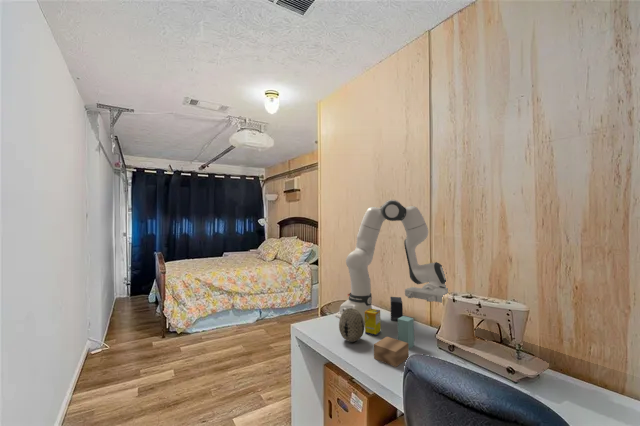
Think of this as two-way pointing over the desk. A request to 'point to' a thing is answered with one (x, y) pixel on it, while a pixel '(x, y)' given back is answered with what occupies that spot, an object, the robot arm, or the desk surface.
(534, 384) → the desk surface
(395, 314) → the small box
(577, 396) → the desk surface
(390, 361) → the walnut block
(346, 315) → the decorative egg
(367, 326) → the supplement box
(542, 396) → the desk surface
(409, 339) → the teal block
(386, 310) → the desk surface
